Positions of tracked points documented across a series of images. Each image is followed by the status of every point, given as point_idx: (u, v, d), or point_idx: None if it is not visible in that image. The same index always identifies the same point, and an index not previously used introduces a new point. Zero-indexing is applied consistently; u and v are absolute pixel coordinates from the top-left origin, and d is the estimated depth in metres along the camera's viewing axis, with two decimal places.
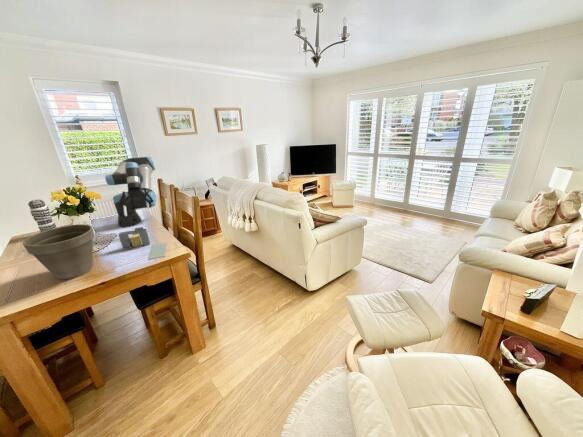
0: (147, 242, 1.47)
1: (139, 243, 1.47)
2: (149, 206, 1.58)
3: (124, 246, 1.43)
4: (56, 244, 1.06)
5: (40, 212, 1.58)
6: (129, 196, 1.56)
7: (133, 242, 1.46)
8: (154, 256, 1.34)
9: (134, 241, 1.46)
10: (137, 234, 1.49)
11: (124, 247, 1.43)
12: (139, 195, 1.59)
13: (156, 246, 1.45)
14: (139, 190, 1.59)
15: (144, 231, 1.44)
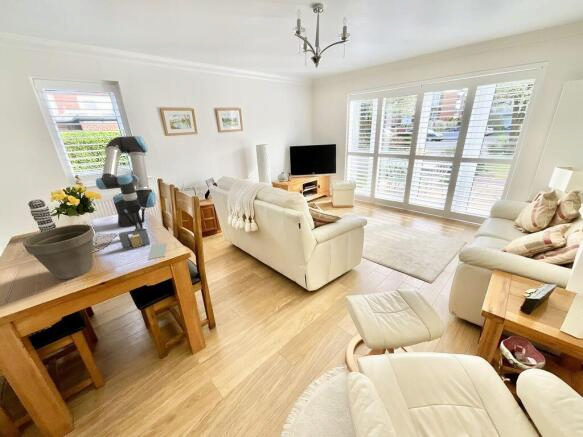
0: (147, 242, 1.47)
1: (139, 244, 1.46)
2: (140, 227, 1.59)
3: (124, 246, 1.43)
4: (56, 244, 1.06)
5: (40, 212, 1.58)
6: (132, 214, 1.53)
7: (133, 243, 1.45)
8: (154, 256, 1.34)
9: (134, 242, 1.45)
10: (137, 234, 1.48)
11: (124, 247, 1.43)
12: None
13: (156, 246, 1.45)
14: (138, 206, 1.54)
15: (144, 231, 1.44)
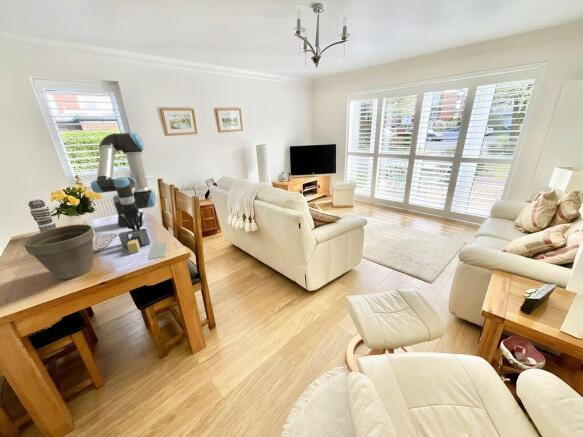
0: (147, 242, 1.47)
1: (136, 250, 1.39)
2: None
3: (124, 246, 1.43)
4: (56, 244, 1.06)
5: (40, 212, 1.58)
6: (130, 218, 1.46)
7: (130, 249, 1.38)
8: (154, 256, 1.34)
9: (131, 248, 1.38)
10: (134, 240, 1.41)
11: (124, 247, 1.43)
12: (133, 216, 1.48)
13: (156, 246, 1.45)
14: (136, 210, 1.47)
15: (144, 231, 1.44)
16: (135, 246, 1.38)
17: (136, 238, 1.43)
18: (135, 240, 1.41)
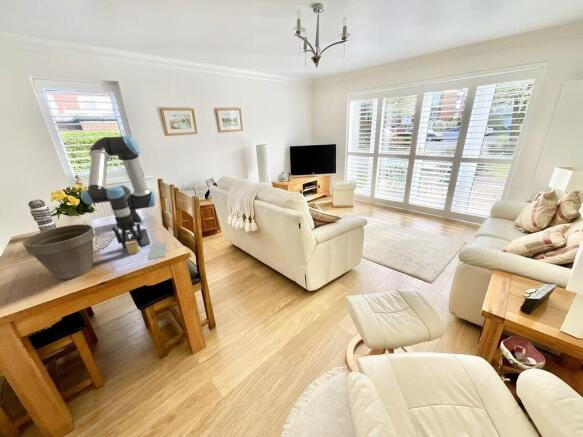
0: (147, 242, 1.47)
1: (136, 251, 1.38)
2: (139, 245, 1.39)
3: None
4: (56, 244, 1.06)
5: (40, 212, 1.58)
6: (123, 232, 1.33)
7: (129, 250, 1.37)
8: (154, 256, 1.34)
9: (131, 249, 1.37)
10: (134, 241, 1.40)
11: None
12: (130, 229, 1.35)
13: (156, 246, 1.45)
14: (131, 223, 1.33)
15: (144, 231, 1.44)
16: (135, 247, 1.37)
17: None
18: (135, 241, 1.40)
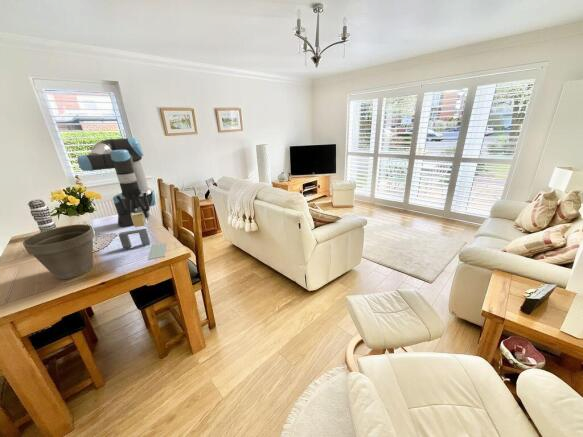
0: (147, 242, 1.47)
1: (142, 223, 1.26)
2: (145, 217, 1.27)
3: (124, 246, 1.43)
4: (56, 244, 1.06)
5: (40, 212, 1.58)
6: (129, 201, 1.21)
7: (135, 222, 1.24)
8: (154, 256, 1.34)
9: (137, 221, 1.24)
10: (140, 213, 1.27)
11: (124, 247, 1.43)
12: None
13: (156, 246, 1.45)
14: (137, 191, 1.21)
15: (144, 231, 1.44)
16: (141, 219, 1.25)
17: (142, 211, 1.30)
18: (141, 213, 1.27)
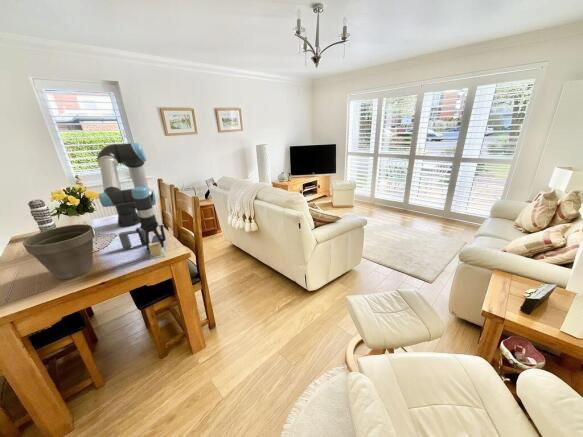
0: None
1: (159, 252, 1.35)
2: (162, 246, 1.36)
3: (124, 246, 1.43)
4: (56, 244, 1.06)
5: (40, 212, 1.58)
6: (147, 233, 1.30)
7: (153, 251, 1.33)
8: (154, 256, 1.34)
9: (154, 251, 1.33)
10: (157, 243, 1.36)
11: (124, 247, 1.43)
12: None
13: None
14: (155, 224, 1.30)
15: (144, 231, 1.44)
16: (158, 249, 1.34)
17: (158, 240, 1.39)
18: (157, 243, 1.36)
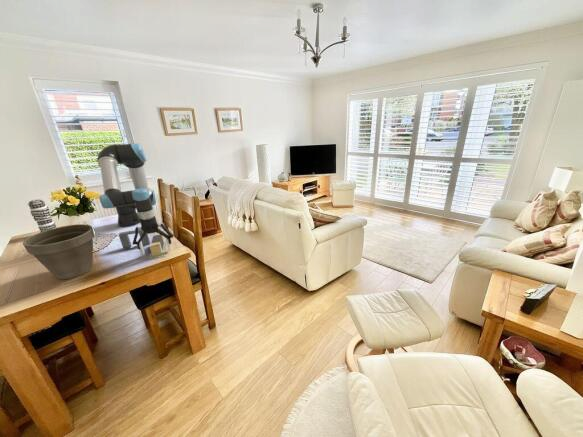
0: (147, 242, 1.47)
1: (159, 252, 1.35)
2: (169, 243, 1.37)
3: (124, 246, 1.43)
4: (56, 244, 1.06)
5: (40, 212, 1.58)
6: (144, 234, 1.29)
7: (153, 251, 1.33)
8: (154, 256, 1.34)
9: (154, 251, 1.33)
10: (157, 243, 1.36)
11: (124, 247, 1.43)
12: None
13: None
14: (155, 226, 1.31)
15: None
16: (158, 249, 1.34)
17: (158, 240, 1.39)
18: (157, 243, 1.36)
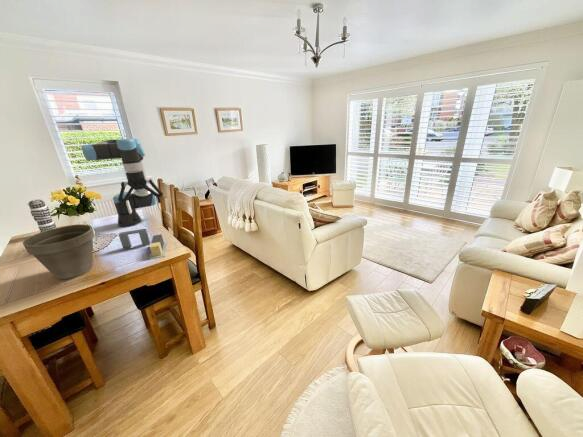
0: (147, 242, 1.47)
1: (159, 252, 1.35)
2: (158, 202, 1.27)
3: (124, 246, 1.43)
4: (56, 244, 1.06)
5: (40, 212, 1.58)
6: (131, 190, 1.20)
7: (153, 251, 1.33)
8: (154, 256, 1.34)
9: (154, 251, 1.33)
10: (157, 243, 1.36)
11: (124, 247, 1.43)
12: (144, 187, 1.23)
13: None
14: (143, 181, 1.21)
15: (144, 231, 1.44)
16: (158, 249, 1.34)
17: (158, 240, 1.39)
18: (157, 243, 1.36)
